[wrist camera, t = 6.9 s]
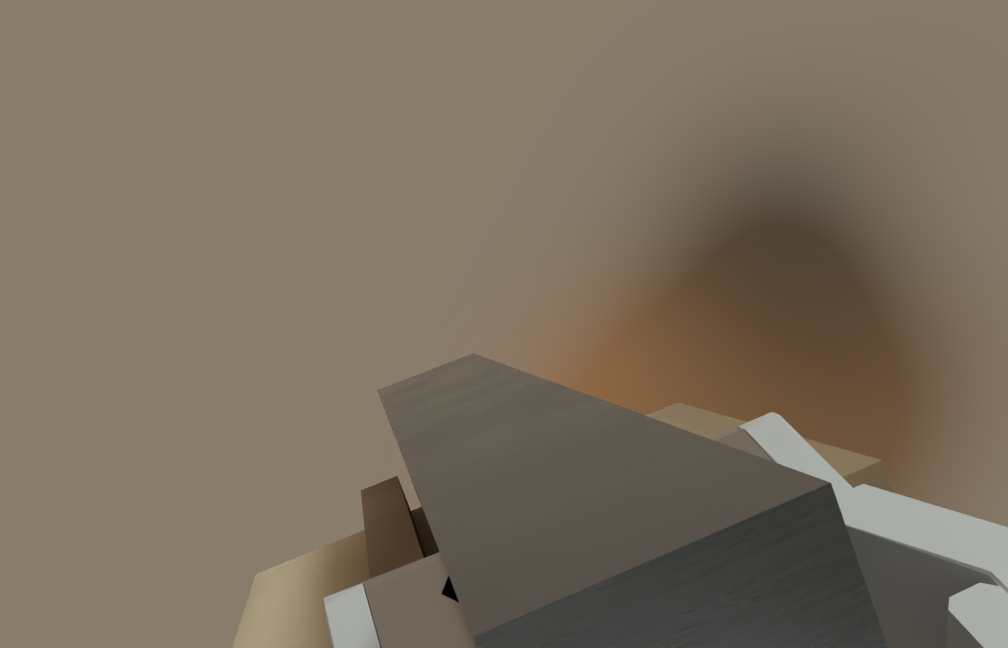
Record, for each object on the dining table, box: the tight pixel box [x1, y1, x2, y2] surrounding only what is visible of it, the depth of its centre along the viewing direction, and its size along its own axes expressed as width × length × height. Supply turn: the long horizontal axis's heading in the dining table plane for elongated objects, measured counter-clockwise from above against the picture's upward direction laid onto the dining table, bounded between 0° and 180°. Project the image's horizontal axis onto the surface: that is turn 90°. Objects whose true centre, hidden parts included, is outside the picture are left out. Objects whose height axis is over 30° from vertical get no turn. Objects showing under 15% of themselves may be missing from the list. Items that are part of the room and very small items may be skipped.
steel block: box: [378, 354, 888, 648], centre depth 18 cm, size 3×21×3 cm, turn 10°
